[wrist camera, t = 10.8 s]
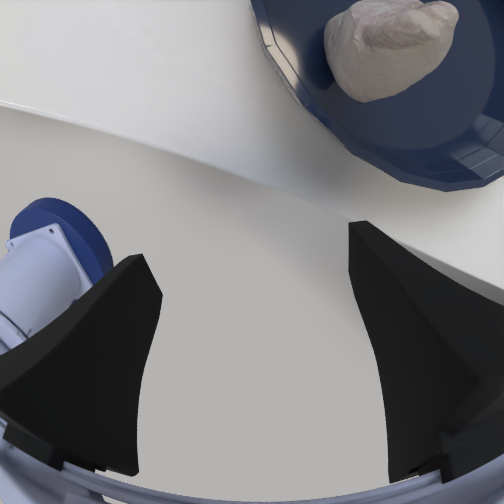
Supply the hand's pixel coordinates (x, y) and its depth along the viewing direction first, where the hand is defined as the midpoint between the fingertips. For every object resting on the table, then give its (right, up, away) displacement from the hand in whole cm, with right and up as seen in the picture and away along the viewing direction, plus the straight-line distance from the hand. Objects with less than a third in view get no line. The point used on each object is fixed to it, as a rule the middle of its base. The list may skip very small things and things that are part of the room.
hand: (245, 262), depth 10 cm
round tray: (+11, +15, +1) cm, 19 cm away
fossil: (+6, +12, +3) cm, 14 cm away
